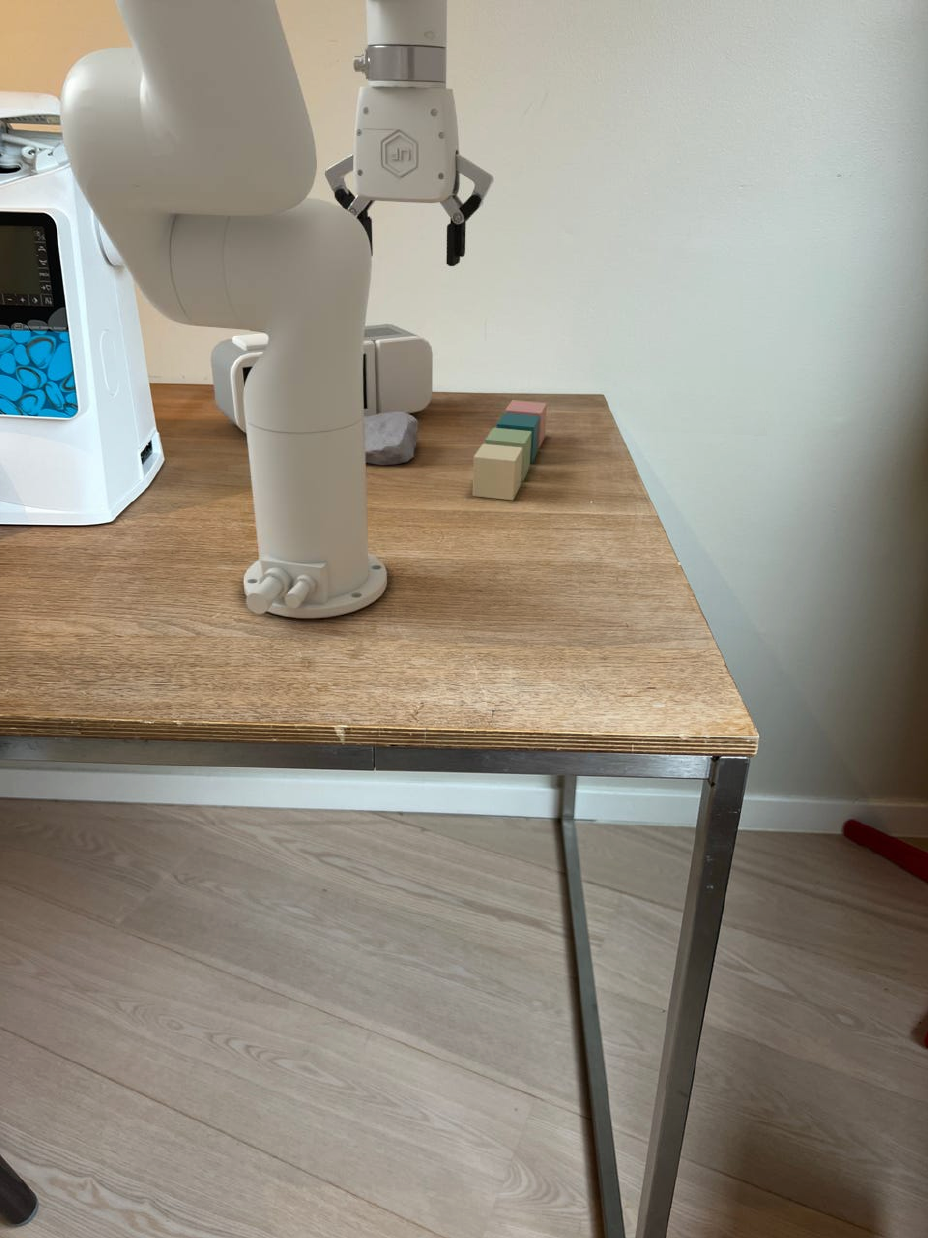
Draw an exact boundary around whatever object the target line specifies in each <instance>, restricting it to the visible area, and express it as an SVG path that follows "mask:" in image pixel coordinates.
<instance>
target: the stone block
mask: <svg viewBox="0 0 928 1238" xmlns="http://www.w3.org/2000/svg"><path fill="white" fill-rule="evenodd" d="M364 429H365V459H366V464H373V465H378V466H391V465H392V466H393V465H401V464H404V463H407V462H409V461H410V460H411V459H414V457H415V455H414V454H415V449H416V446H417V443H418V440H419V439H418V435H419V434H418V433H419V422H418V419H417V418H415V417H414V416H413V415H411V414H410V415H408V414H407V413H405V412H389V413H379V414H376V415H373V416H366V417H365V416H364Z"/></svg>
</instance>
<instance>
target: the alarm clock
mask: <svg viewBox="0 0 928 1238" xmlns="http://www.w3.org/2000/svg"><path fill="white" fill-rule="evenodd" d="M268 340H269V338H268V335H267V334H265V333H262V332H259V333H251V334H250V333H249V334H241V335H240V334H239V335H233V336H232V337H231V338H229V339H228V338H227V339H224V340H221V341H219V342H218V343H216V344H215V345H214V347H213V349H212V351H211V353H210V364H211V367H210V368H211V375H212V384H213V391H214V392H213V393H214V400H215V404H216V407H217V409H218V410H219V411H220V412H221V413H222V414H223V415H224V416H225V417H227V419H228V420H230V422H232V423H233V424H234V425H235V426H236V427H238V428H239V430H241V431H242V432H243V433H245V434H247V432H246V422H245V414H244V403H243V394H244V387H245V382H246V379H247V377H248V374H249V372H250V371H251V369H252V367H253V366H254V364H255V363H256V361H257V360H258V358H259V357H260V356H261V354H262V353H263V351H264V350H265V348H266V346H267V343H268ZM433 356H434V355H433V349H432V346H431V344H430V342H429V341H428V340H427V339H425V338H424V337H422V336H419V335H417V334H416V333H413V332H410V331H408V330H406V329H404V328H401V327H399V326H397V325H394V324H389V323H383V324H374V325H365V332H364V346H363V402H364V416H365V417H366V416H373V415H376V414H379V413H389V412H405V413H407V414H408V415H411V414H412V413H418V412H422V411H423V410H424V409H426V408H427V407H428V406H429V404H430V403H431V401H432V398H433V386H434V385H433V381H434V380H433V379H434V378H433V376H434V375H433V372H434V371H433V370H434V369H433V362H434V361H433V360H434V359H433V358H434V357H433Z"/></svg>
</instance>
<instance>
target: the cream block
mask: <svg viewBox="0 0 928 1238" xmlns="http://www.w3.org/2000/svg"><path fill="white" fill-rule="evenodd" d="M522 451H523V448H522V447H513V446H502V445H492V444H485V443H482V444H481V445H480V447H479V448H478V450H477V451H476V453H475V454H474V455H473V468H472V471H473V472H472V477H473V478H472V497H478V498H486V499H495V500H503V501H504V500H505V501H514V499H515V498H516V496H517V494H518V492H519V490H520V488H521V486H522V485H521V483H522V481H521V469H522Z"/></svg>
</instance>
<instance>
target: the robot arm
mask: <svg viewBox="0 0 928 1238" xmlns="http://www.w3.org/2000/svg"><path fill="white" fill-rule="evenodd" d="M114 2H115V4H116V8H117V11H118V15H119V16H120V19H121V21H122V25H123V26H124V28H125V31H126V33H127V35H128V39H129V40H130V42H131V46H114V47H107V48H101V49H98V50H94V51H91V52H89V53H87V54H85V55H84V56H82V57H80V58H79V60H77V61H76V62H75V63H74V64H73V65H72V67H71V68H70V69H69V71H68V72H67V75H66V77H65V80H64V82H63V85H62V89H61V94H60V101H59V102H60V103H59V122H60V123H59V124H60V128H61V135H62V140H63V147H64V151H65V154H66V157H67V160H68V163H69V166H70V169H71V172H72V174H73V176H74V179H75V181H76V183H77V185H78V187H79V189H80V190H81V193H82V194H83V196H84V198H85V200H86V201H87V204H88V205H89V207H90V208H91V210H92V212H93V214H94V216H95V217H96V219H97V220H98V222H99V223H100V225H101V227H102V229H103V230H104V232H105V234H106V235H107V237H108V239H109V241H110V242H111V244H112V245H113V247H114V249H115V251H116V252H117V254H118V255H119V257H120V259H121V261H122V262H123V264H124V266H125V268H126V269H127V270H128V272H129V274H130V276H131V277H132V279H133V281H134V282H135V284H136V285H137V287H138V288H139V290H140V291H141V293H142V294H143V296H144V298H146V300H147V301H148V303H149V304H150V305H151V306H152V307H153V308H154V309H155V311H157V312H158V313H159V314H160V315H161V316H163V317H164V318H166V319H168V320H170V321H172V322H174V323H178V324H182V325H187V326H196V327H202V328H203V327H204V328H217V329H218V328H219V329H221V328H222V329H231V330H232V329H233V330H244V331H250V332H256V333H265V334H267V335H268V338H269V340H268V343H267V346H266V348H265V350H264V351H263V353H262V354H261V356H260V357H259V358H258V360H257V361H256V363H255V364H254V366H253V367H252V369H251V371H250V372H249V374H248V377H247V379H246V382H245V387H244V394H243V403H244V414H245V422H246V432H247V433H246V441H247V451H248V452H247V453H248V459H249V460H248V462H249V470H250V480H251V491H252V500H253V510H254V519H255V531H256V540H257V549H258V558H259V559H258V560H256V561H254V562H253V563H252V564H251V565H250V566H249V567H248V568H247V570H246V572H245V573H244V574H243V588H244V594H245V596H246V598H245V605H246V606H247V609H248V610H249V611H250V612H251V613H254V614H257V615H262V614H265V613H266V612H268V613H270V614H273V615H276V616H281V617H286V618H294V619H322V618H323V619H324V618H325V619H326V618H332V617H337V616H342V615H346V614H349V613H353V612H354V613H355V612H356V611H358V610H361V609H363V608H366V607H368V606H370V605H371V604H372V603H374V602H375V601H376V600H377V599H379V598H380V597H381V596H382V595H383V594H384V592H385V590H386V589H387V585H388V571H387V569H386V565H384V563H383V562H382V561H381V560H380V559H379V558H377V557H376V556H374V555H373V554H370V553H369V527H368V524H369V522H368V497H367V495H368V493H367V466H366V464H367V463H366V459H365V429H364V402H363V346H364V332H365V326H366V321H367V313H368V312H367V311H368V306H369V305H368V303H369V297H370V290H371V282H372V281H371V280H372V270H373V269H372V268H373V261H372V260H373V259H372V257H373V255H374V250H373V248H374V247H373V246H374V245H373V244H374V243H373V219H372V218H371V216H369V210H371V208H372V206H373V205H374V203H375V202H392V203H393V202H395V203H414V204H415V203H416V204H437V203H439V204H440V206H442V208H443V209H444V211H445V213H446V214H447V215H448V216H449V218H450V221H449V222H450V223H448V224H447V225H446V259H445V260H446V261H445V263H446V265H447V266H448V267H456V266H457V265H458V264H459V263H460V262H461V258H463V257H464V256H465V253H466V229H467V228H466V225H467V224H466V223H467V221H468V220H469V219H470V218H471V217H472V215H474V214H475V213H476V212H477V210H479V208H481V206H482V205H483V204H484V201H485V198H486V197H487V195H488V193H489V192H490V189H491V187H492V185H493V183H494V176H493V175H492V174H490V173H489V172H487V171H486V170H485V169H483V168H482V167H480V166H478V165H477V164H475V163H473V162H472V161H470V160H469V159H467V158H465V157H464V156H462V155H461V154H460V140H459V139H460V138H459V127H458V117H457V116H458V115H457V109H456V108H457V107H456V101H455V95H454V90H453V88H447V72H448V71H447V68H448V67H447V66H448V65H447V62H448V61H447V60H448V57H447V55H448V54H447V53H448V50H447V47H448V46H447V45H448V44H447V43H448V40H447V39H448V33H447V32H448V31H447V30H448V0H365V8H366V9H365V10H366V14H365V15H366V44H367V45H366V46H367V47H365V48H364V54H363V53H362V54H361V55H354V57H353V63H352V64H353V70H354V72H355V73H361V74H364V75H365V79H366V80H368V81H367V86H359V89H358V93H357V94H358V95H357V102H356V111H355V122H354V134H353V139H354V140H353V153H352V154H350V155H349V156H347V157H344V158H343V159H342V160H340V161H338V162H337V163H335V164H333V165H331V166H330V167H328V168H326V169H325V171H324V176H325V179H326V181H327V182H328V185H329V187H330V189H331V191H332V192H333V195H334V199H335V200H336V201H337V203H338V204H337V203H333V202H330V201H327V200H324V199H323V200H322V199H319V198H313V197H308V195H309V194H310V193H311V191H312V189H313V187H314V183H315V180H316V176H317V170H318V158H317V148H316V141H315V136H314V131H313V127H312V122H311V119H310V115H309V111H308V109H307V108H308V107H307V105H306V101H305V97H304V94H303V91H302V88H301V84H300V80H299V78H298V77H299V76H298V74H297V70H296V67H295V63H294V61H293V57H292V53H291V51H290V47H289V44H288V41H287V37H286V33H285V30H284V27H283V23H282V20H281V17H280V14H279V10H278V6H277V2H276V0H114ZM352 172H353V173H352ZM350 173H352V174H353V176H352V177H353V187H354V192H355V194H356V196H355V195H354V194H353V192H352V191H351V190H350V189H348V187H347V185H346V181H345V177H346V176H347V175H348V174H350ZM461 175H463V176H464V177H465V178H467V179H469V180H471V181H472V182H473V184H474V187H473V190H472V192H471V194H470V196H469V197H468V198H467V199H466V200H465V201H464V202H463V201H462V200H461V198H460V197H459V195H458V194H459V191H460V186H461V185H460V184H461V183H460V182H461Z"/></svg>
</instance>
